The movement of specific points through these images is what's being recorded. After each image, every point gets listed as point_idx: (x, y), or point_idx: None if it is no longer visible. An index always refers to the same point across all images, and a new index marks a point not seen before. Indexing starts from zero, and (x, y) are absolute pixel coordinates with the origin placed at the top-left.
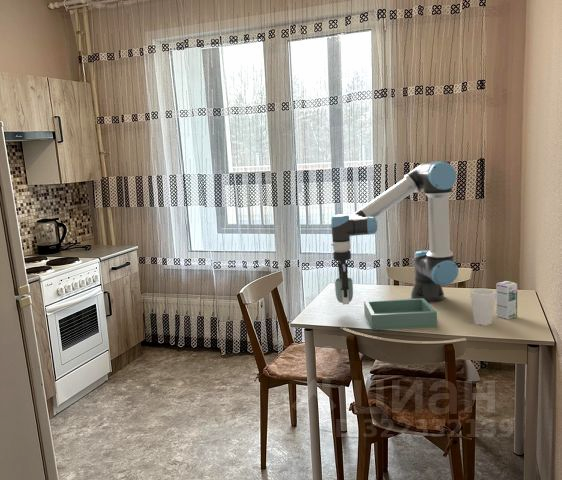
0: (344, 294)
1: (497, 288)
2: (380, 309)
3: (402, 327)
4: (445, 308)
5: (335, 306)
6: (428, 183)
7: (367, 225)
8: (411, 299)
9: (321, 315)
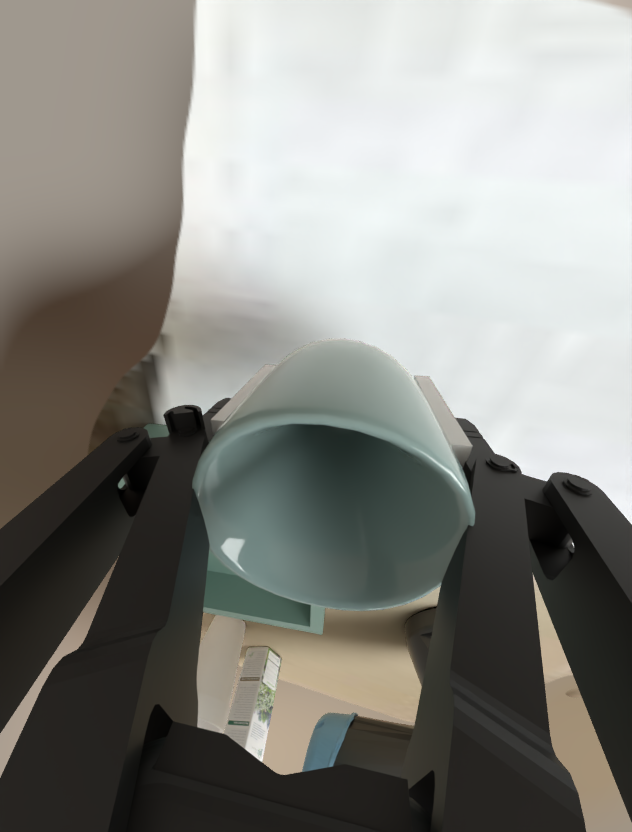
0: (208, 414)
1: (244, 736)
2: None
3: None
4: (340, 620)
5: (549, 326)
6: None
7: None
8: (315, 612)
9: (381, 186)
